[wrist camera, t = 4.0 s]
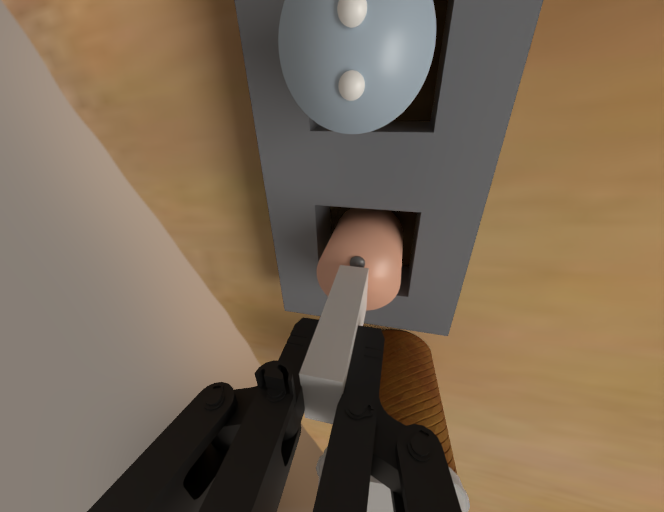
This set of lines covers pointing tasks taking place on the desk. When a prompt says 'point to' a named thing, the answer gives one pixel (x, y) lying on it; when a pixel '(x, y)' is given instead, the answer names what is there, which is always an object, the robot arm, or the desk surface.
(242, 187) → the desk surface
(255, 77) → the button panel
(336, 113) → the slate button
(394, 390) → the disposable coffee cup
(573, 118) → the desk surface
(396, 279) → the pink rounded piece
